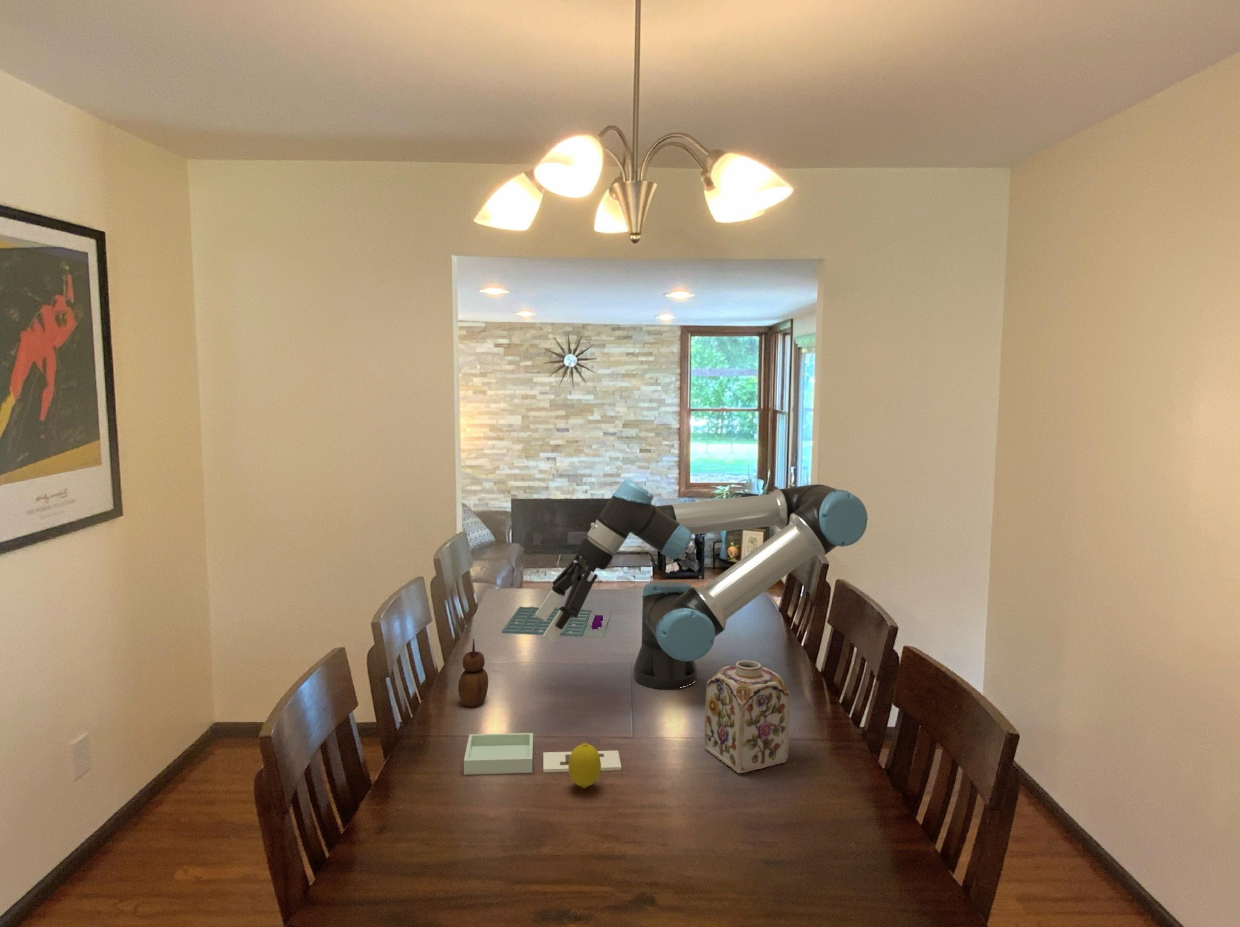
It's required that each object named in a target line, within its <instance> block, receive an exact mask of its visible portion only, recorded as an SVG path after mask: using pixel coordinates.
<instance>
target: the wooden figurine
mask: <svg viewBox="0 0 1240 927" xmlns="http://www.w3.org/2000/svg"><path fill="white" fill-rule="evenodd" d="M471 649H472V650H471V651H469V652H467V653H465V654H464V656H463V658H462V667H463V669H464V670H463V672H462V673H461V674H460V677H459V680H458V688H457V691H458V696H459V698H460V700H461V703H462V704H463V705H464V706H467V707H471V708H472V707H473V708H474V707H477V706H480V705H481V704H483V703H484V702H485V700H486V698H487V694H488V689H489V676H488V673H487V671H486V669H484V667H485V655H484V654H483V653H482V652H480V651H476V644H475V638H472V648H471Z"/></svg>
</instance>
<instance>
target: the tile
mask: <svg viewBox="0 0 1240 927" xmlns="http://www.w3.org/2000/svg"><path fill="white" fill-rule="evenodd" d="M597 751H598V753H599V757H600V761H601V770H600V772H606V771H607V772H609V771H610V772H611V771H613V772H614V771H622V764H621V758H620V753H619V750H597ZM571 753H572V751H555V752H554V751H553V752H552V751H551V752H544V751H543V753H542V754H543V755H542V756H543V758H542V760H543V761H542V763H543V764H542V766H543V767H542V768H543V773H567V772H568V773H569V759H570V755H571Z"/></svg>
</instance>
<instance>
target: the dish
mask: <svg viewBox="0 0 1240 927" xmlns="http://www.w3.org/2000/svg"><path fill="white" fill-rule="evenodd" d="M533 745H534V733H533V732H519V733H518V732H517V733H516V732H513V733H511V732H510V733H509V732H508V733H482V734H481V733H480V734H479V733H477V734H476V733H474V734H471V733H469V735H468V740H467V744H466V748H465V753H464V758H463V775H465V776H467V775H469V776H470V775H496V774H498V775H499V774H504V775H505V774H532V773H533V755H534V750H533V748H534V746H533Z"/></svg>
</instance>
